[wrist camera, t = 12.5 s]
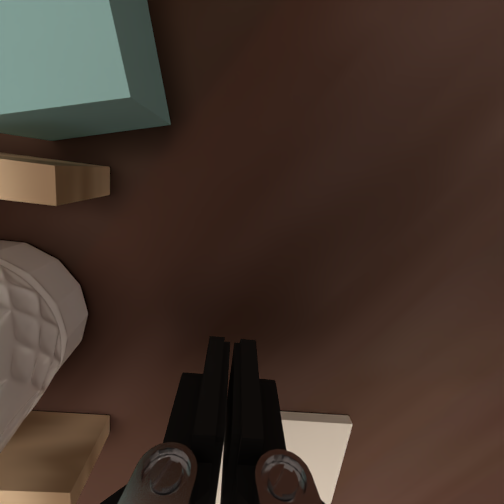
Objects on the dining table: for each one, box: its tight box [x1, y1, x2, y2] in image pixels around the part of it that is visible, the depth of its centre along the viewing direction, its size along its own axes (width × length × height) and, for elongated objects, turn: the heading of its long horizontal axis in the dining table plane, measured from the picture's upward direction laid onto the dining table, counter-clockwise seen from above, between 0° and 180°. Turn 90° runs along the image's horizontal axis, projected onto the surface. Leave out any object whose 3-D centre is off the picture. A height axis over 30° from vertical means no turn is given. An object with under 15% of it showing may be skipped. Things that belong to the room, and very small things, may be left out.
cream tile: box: [215, 411, 353, 504], centre depth 18 cm, size 10×10×1 cm
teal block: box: [0, 0, 171, 141], centre depth 9 cm, size 5×5×5 cm
